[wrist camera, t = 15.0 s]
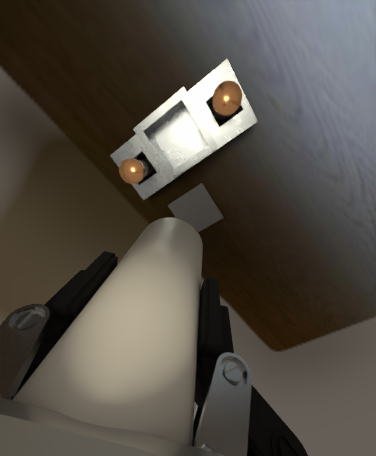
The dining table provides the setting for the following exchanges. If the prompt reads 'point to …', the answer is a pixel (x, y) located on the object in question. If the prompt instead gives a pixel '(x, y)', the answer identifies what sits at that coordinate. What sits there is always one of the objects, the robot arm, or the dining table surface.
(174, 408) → the cylinder
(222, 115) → the plunger
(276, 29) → the dining table surface
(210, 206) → the mat
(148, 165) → the plunger
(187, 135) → the housing
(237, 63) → the dining table surface
